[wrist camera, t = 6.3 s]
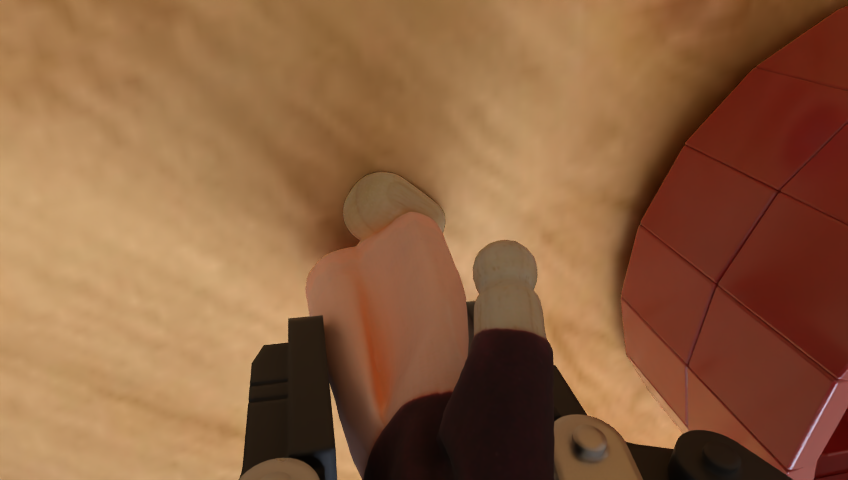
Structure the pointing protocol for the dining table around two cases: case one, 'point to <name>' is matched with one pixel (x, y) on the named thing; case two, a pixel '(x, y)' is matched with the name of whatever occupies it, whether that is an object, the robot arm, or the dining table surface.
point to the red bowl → (755, 265)
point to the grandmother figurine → (432, 346)
